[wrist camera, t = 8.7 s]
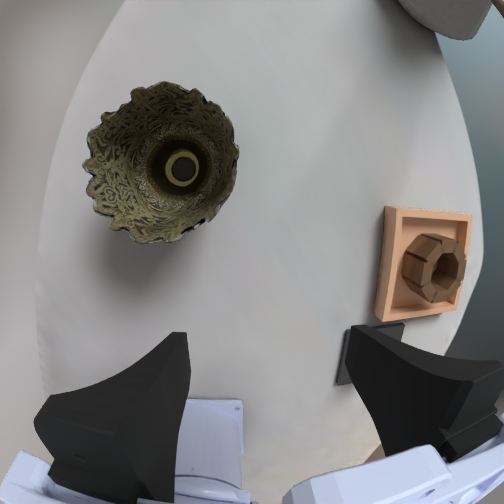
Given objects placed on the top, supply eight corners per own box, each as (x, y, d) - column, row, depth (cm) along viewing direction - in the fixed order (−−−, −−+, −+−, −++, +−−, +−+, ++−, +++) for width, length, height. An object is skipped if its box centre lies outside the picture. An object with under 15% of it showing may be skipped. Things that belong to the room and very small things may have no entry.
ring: (440, 287, 22) (459, 299, 19) (398, 292, 22) (416, 306, 19) (447, 233, 21) (469, 240, 18) (405, 233, 21) (426, 240, 18)
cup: (206, 101, 18) (191, 54, 10) (255, 188, 20) (269, 190, 12) (119, 154, 18) (60, 141, 10) (164, 239, 20) (126, 272, 12)
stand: (388, 373, 25) (408, 399, 20) (336, 382, 24) (351, 413, 20) (402, 322, 23) (428, 346, 19) (346, 329, 23) (367, 358, 18)
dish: (446, 303, 23) (456, 310, 21) (372, 312, 23) (382, 321, 21) (460, 212, 21) (472, 215, 19) (385, 206, 20) (396, 208, 19)
